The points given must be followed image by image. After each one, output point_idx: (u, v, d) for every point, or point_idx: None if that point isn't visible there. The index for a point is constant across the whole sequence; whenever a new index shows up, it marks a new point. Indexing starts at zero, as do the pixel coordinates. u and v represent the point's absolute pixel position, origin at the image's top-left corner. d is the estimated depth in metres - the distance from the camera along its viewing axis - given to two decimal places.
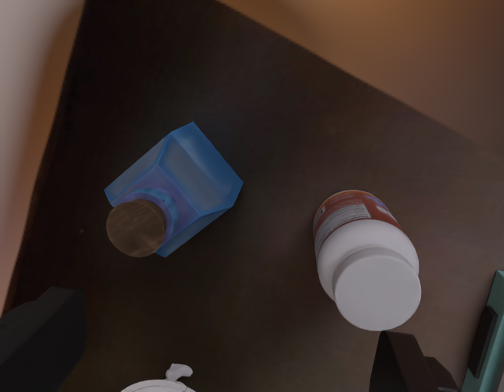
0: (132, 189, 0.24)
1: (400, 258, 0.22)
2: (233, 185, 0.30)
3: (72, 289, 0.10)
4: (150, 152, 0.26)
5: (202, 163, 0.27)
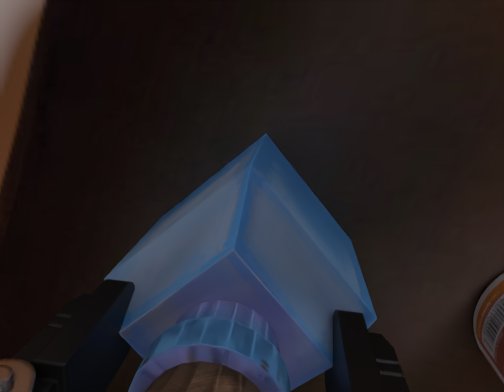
0: (170, 304, 0.10)
1: None
2: (351, 257, 0.16)
3: (125, 282, 0.11)
4: (206, 208, 0.12)
5: (309, 225, 0.13)
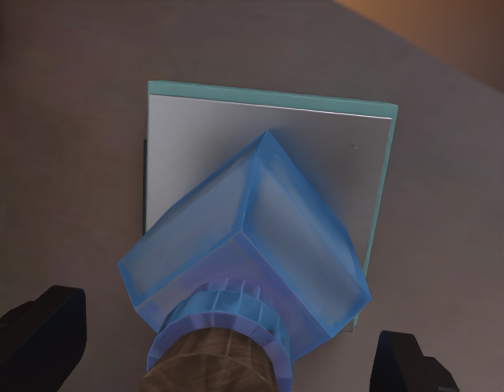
0: (183, 281, 0.11)
1: None
2: (348, 245, 0.17)
3: (72, 289, 0.10)
4: (213, 195, 0.13)
5: (309, 213, 0.14)
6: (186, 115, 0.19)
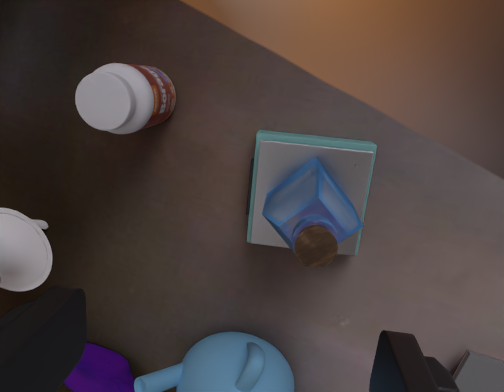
0: (297, 215, 0.32)
1: (114, 75, 0.32)
2: (353, 209, 0.38)
3: (72, 289, 0.10)
4: (304, 186, 0.34)
5: (338, 193, 0.35)
6: (277, 150, 0.40)
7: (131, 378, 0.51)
